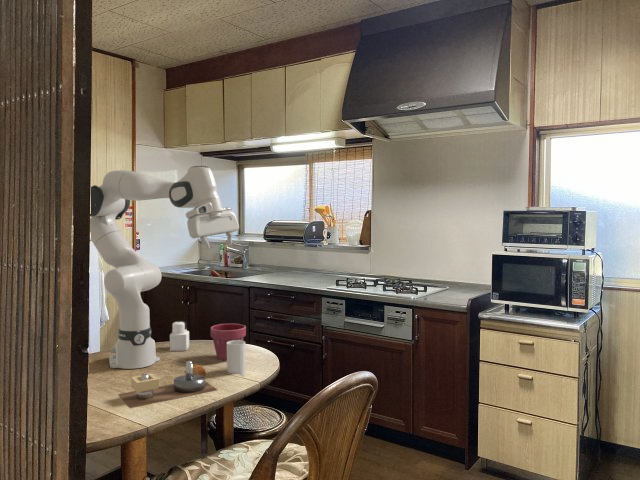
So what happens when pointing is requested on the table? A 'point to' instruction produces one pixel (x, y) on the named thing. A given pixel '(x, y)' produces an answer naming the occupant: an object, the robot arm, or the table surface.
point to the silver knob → (145, 394)
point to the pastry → (198, 370)
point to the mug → (236, 357)
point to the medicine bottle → (179, 336)
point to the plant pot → (226, 337)
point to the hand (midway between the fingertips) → (219, 246)
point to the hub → (189, 381)
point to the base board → (160, 395)
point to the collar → (144, 383)
